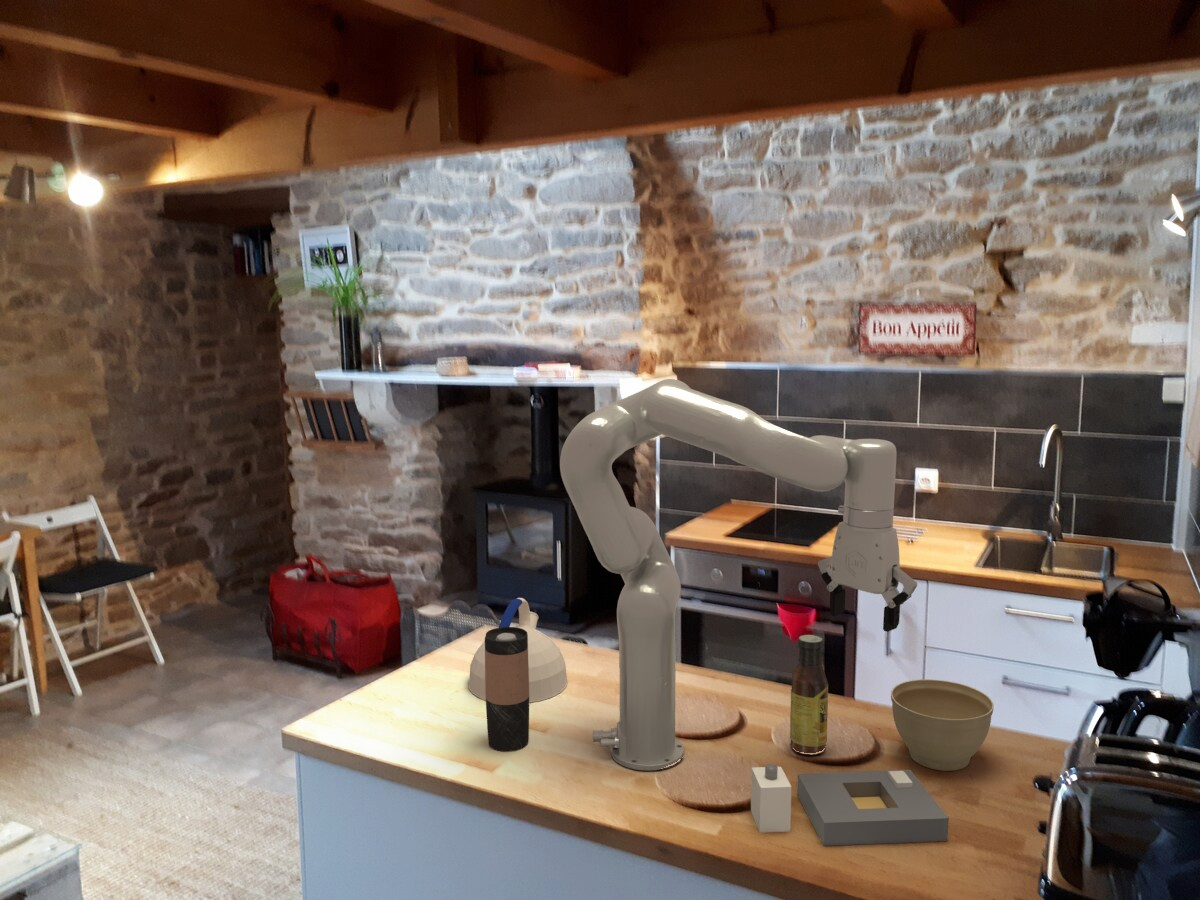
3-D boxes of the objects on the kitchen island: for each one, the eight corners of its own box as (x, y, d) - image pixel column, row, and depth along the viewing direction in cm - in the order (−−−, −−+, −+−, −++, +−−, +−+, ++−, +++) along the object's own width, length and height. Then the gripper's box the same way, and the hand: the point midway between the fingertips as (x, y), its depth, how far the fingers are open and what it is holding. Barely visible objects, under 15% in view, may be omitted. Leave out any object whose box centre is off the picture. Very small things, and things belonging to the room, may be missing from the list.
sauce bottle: (827, 759, 156) (830, 647, 153) (789, 755, 157) (792, 644, 154) (825, 741, 162) (829, 633, 159) (789, 738, 164) (792, 631, 161)
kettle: (579, 669, 196) (578, 587, 193) (552, 709, 176) (550, 619, 173) (489, 661, 201) (487, 581, 198) (452, 700, 181) (450, 611, 178)
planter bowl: (898, 729, 167) (900, 672, 165) (994, 749, 159) (998, 689, 158) (879, 768, 153) (882, 706, 151) (984, 791, 145) (988, 726, 144)
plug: (759, 832, 134) (761, 777, 133) (750, 810, 140) (751, 757, 139) (790, 831, 135) (791, 776, 133) (779, 809, 140) (781, 756, 139)
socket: (823, 845, 131) (824, 817, 130) (797, 794, 145) (797, 768, 144) (947, 840, 132) (948, 812, 131) (909, 790, 146) (910, 765, 145)
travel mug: (539, 741, 163) (537, 633, 160) (506, 757, 157) (504, 645, 154) (510, 728, 168) (508, 623, 165) (477, 743, 163) (474, 634, 160)
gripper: (808, 512, 149) (804, 613, 152) (905, 531, 136) (899, 641, 139) (835, 505, 154) (830, 604, 157) (931, 523, 141) (925, 630, 144)
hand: (863, 621), depth 148 cm, fingers open, 9 cm apart
